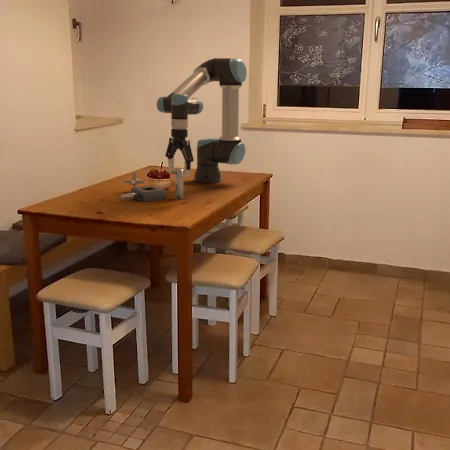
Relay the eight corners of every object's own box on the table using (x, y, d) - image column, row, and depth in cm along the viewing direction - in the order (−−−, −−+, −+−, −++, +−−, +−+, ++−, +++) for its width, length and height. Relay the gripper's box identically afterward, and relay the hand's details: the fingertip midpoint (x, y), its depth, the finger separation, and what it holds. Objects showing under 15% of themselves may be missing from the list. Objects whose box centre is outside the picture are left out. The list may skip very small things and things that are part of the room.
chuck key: (184, 196, 283) (184, 167, 280) (188, 198, 280) (188, 168, 277) (170, 198, 278) (170, 169, 275) (174, 200, 276) (174, 170, 272)
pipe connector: (140, 194, 287) (140, 173, 284) (121, 193, 289) (120, 172, 286) (147, 190, 296) (147, 170, 294) (128, 189, 298) (128, 169, 296)
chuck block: (153, 194, 287) (153, 185, 285) (166, 199, 277) (166, 189, 276) (115, 199, 275) (115, 189, 274) (128, 204, 266) (128, 194, 264)
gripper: (158, 126, 278) (158, 171, 284) (187, 131, 259) (187, 179, 264) (171, 126, 283) (171, 170, 288) (201, 130, 264) (201, 177, 269)
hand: (179, 174), depth 276 cm, fingers open, 13 cm apart
